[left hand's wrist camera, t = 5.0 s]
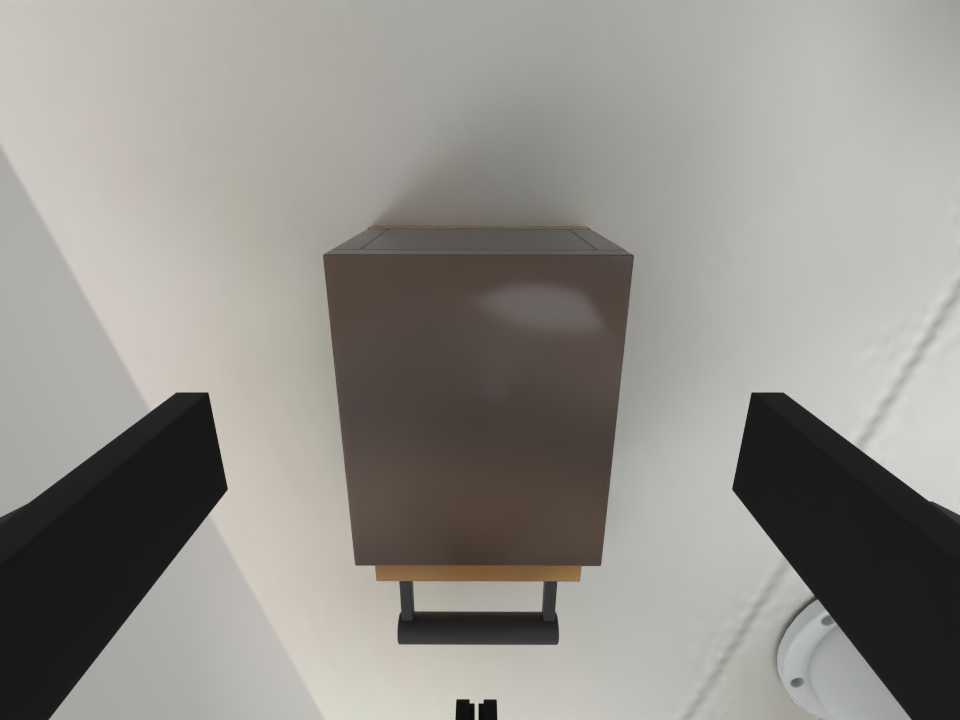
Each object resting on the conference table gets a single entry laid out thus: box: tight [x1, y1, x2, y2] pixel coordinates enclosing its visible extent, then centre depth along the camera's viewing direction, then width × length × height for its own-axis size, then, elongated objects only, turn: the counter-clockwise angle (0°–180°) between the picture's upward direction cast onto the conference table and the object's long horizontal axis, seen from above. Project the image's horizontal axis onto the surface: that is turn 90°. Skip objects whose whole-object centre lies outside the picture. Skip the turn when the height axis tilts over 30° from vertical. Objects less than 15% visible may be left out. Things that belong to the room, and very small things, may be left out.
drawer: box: [375, 565, 581, 645], centre depth 26 cm, size 18×9×6 cm, turn 0°
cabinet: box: [323, 226, 634, 566], centre depth 24 cm, size 13×11×8 cm
